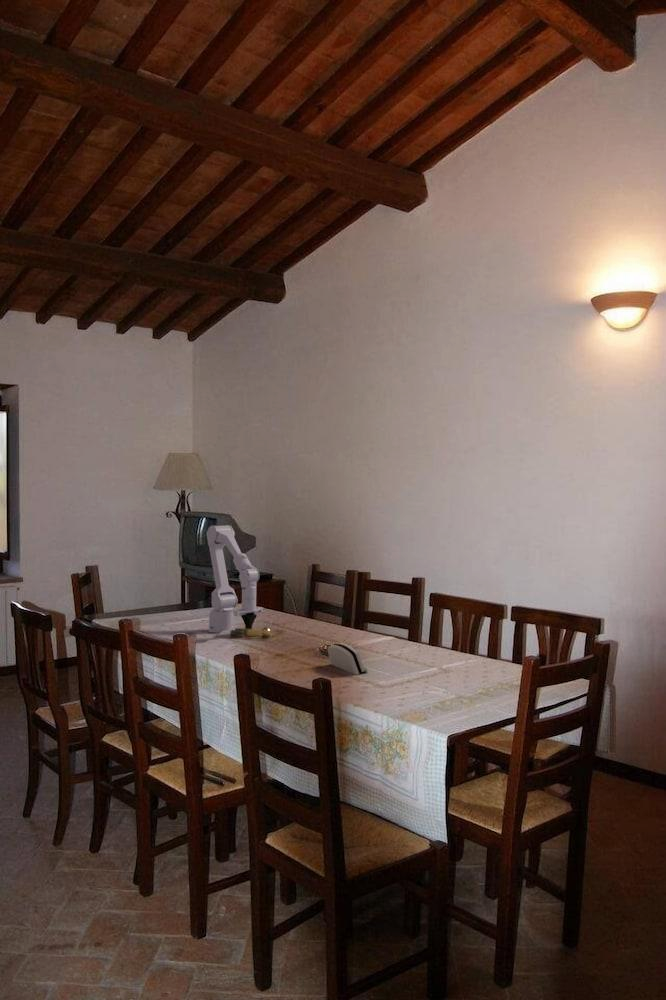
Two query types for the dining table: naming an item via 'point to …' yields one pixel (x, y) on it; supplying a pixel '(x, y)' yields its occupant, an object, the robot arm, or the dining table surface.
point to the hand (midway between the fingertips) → (248, 632)
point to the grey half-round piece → (346, 658)
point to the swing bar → (255, 631)
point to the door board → (240, 635)
